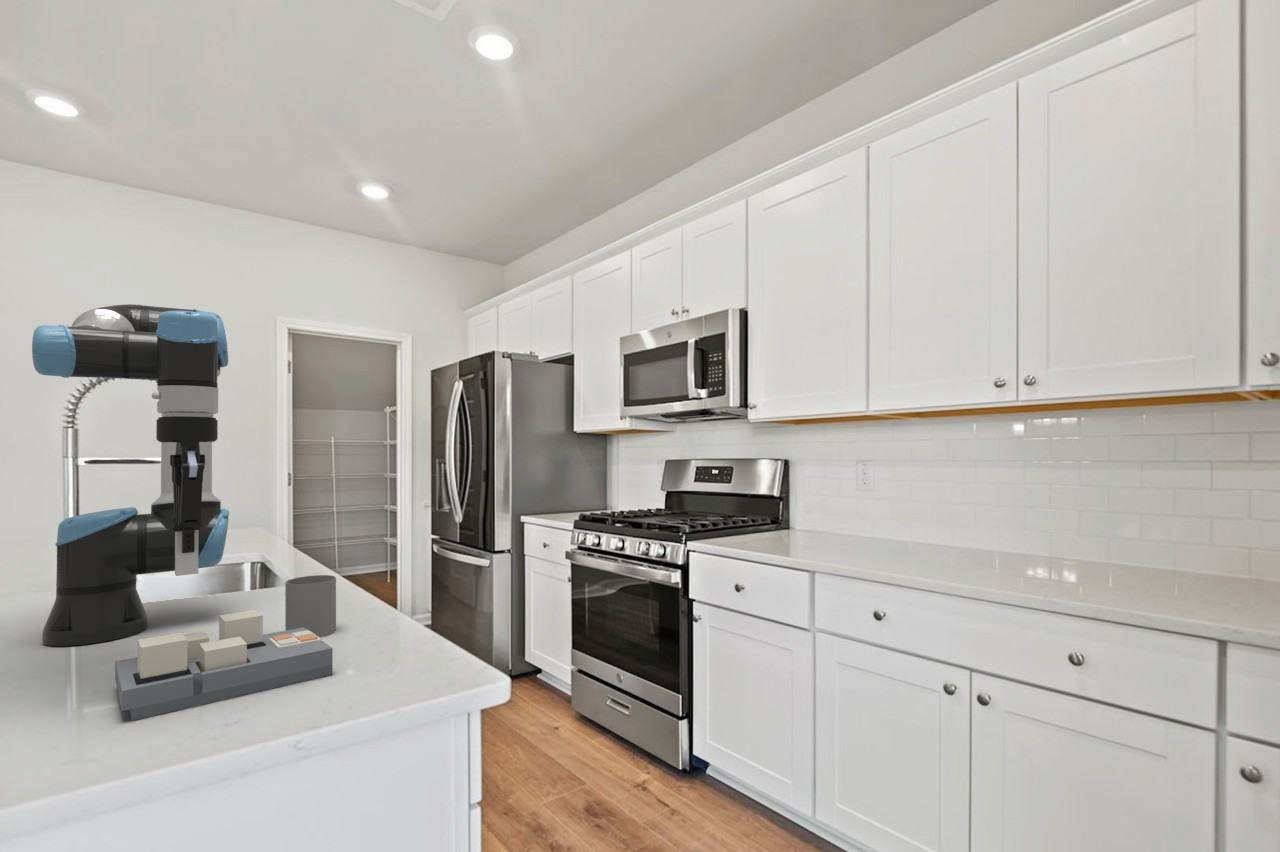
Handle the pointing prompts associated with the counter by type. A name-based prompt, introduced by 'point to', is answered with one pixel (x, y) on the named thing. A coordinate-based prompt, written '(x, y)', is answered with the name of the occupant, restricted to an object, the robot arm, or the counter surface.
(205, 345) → the robot arm
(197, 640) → the button
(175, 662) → the button
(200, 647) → the button
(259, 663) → the board
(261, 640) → the button
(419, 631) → the counter surface
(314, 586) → the cup
